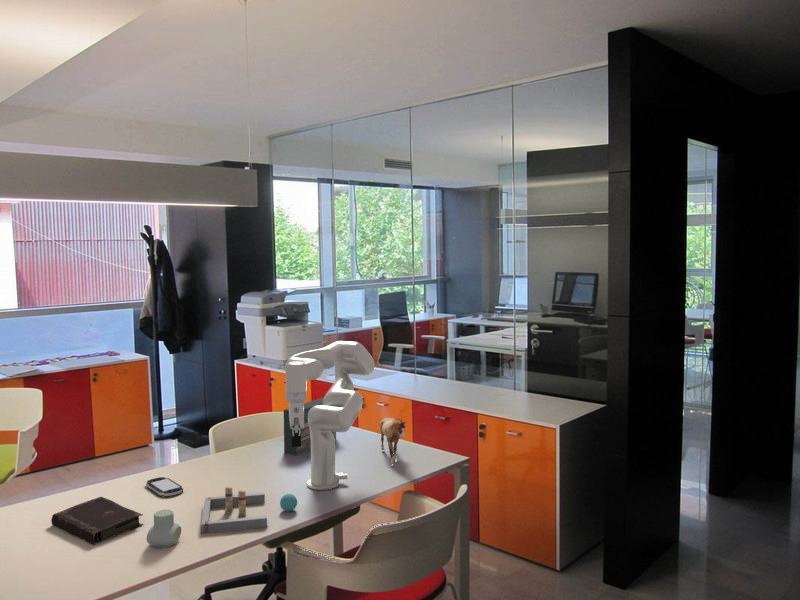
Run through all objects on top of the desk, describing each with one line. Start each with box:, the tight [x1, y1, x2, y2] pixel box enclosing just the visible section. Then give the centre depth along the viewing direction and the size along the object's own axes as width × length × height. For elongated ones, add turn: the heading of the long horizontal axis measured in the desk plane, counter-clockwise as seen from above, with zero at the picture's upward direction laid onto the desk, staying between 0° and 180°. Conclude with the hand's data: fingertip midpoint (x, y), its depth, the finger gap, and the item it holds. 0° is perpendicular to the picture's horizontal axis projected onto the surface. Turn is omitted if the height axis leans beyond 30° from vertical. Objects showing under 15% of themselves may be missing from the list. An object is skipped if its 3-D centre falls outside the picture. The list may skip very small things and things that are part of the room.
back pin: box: [224, 485, 234, 514], centre depth 228 cm, size 2×2×9 cm
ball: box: [279, 493, 298, 512], centre depth 229 cm, size 6×6×6 cm
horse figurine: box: [379, 416, 407, 465], centre depth 285 cm, size 31×8×21 cm, turn 10°
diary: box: [50, 496, 144, 546], centre depth 217 cm, size 19×25×5 cm
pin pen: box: [200, 492, 268, 534], centre depth 224 cm, size 21×23×3 cm
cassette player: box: [283, 396, 337, 456], centre depth 302 cm, size 29×7×20 cm, turn 148°
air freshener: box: [146, 509, 182, 548], centre depth 203 cm, size 11×8×10 cm
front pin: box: [237, 489, 247, 518], centre depth 225 cm, size 2×2×9 cm
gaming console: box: [145, 476, 184, 498], centre depth 249 cm, size 19×9×3 cm, turn 43°
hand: (296, 442), depth 234 cm, fingers open, 9 cm apart
